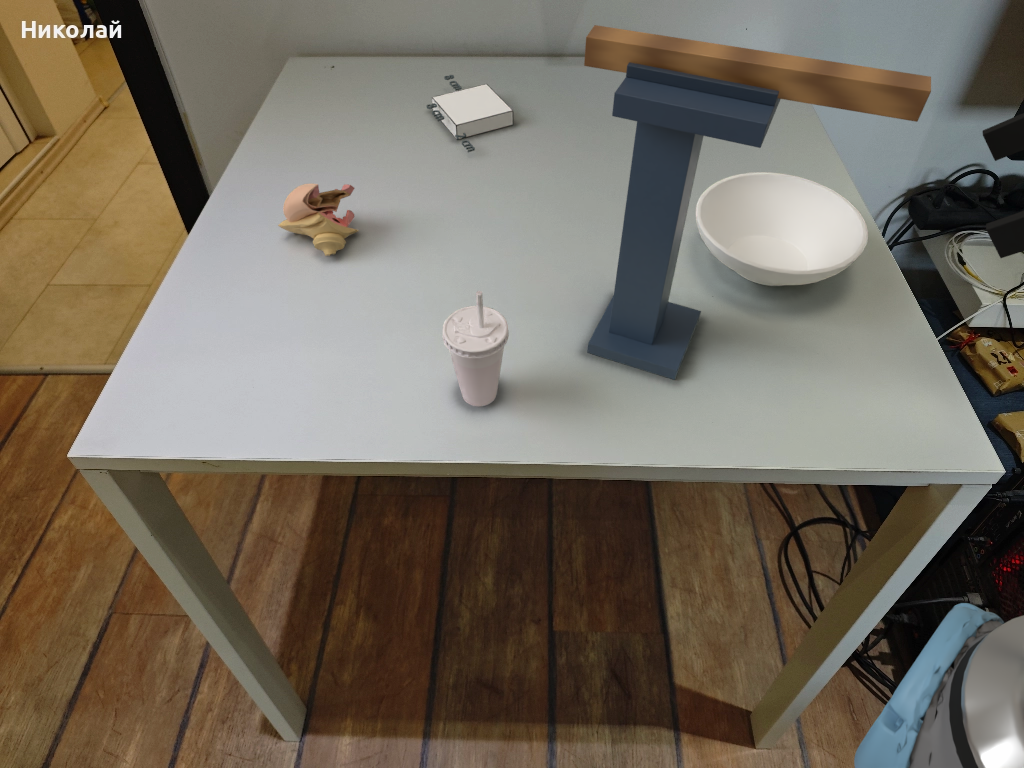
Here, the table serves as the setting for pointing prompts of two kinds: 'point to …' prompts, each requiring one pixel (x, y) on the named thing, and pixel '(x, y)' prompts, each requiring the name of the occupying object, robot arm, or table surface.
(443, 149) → the table surface
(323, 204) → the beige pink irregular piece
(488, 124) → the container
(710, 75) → the stirring stick
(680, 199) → the lectern stand
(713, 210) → the bowl
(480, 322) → the smoothie
